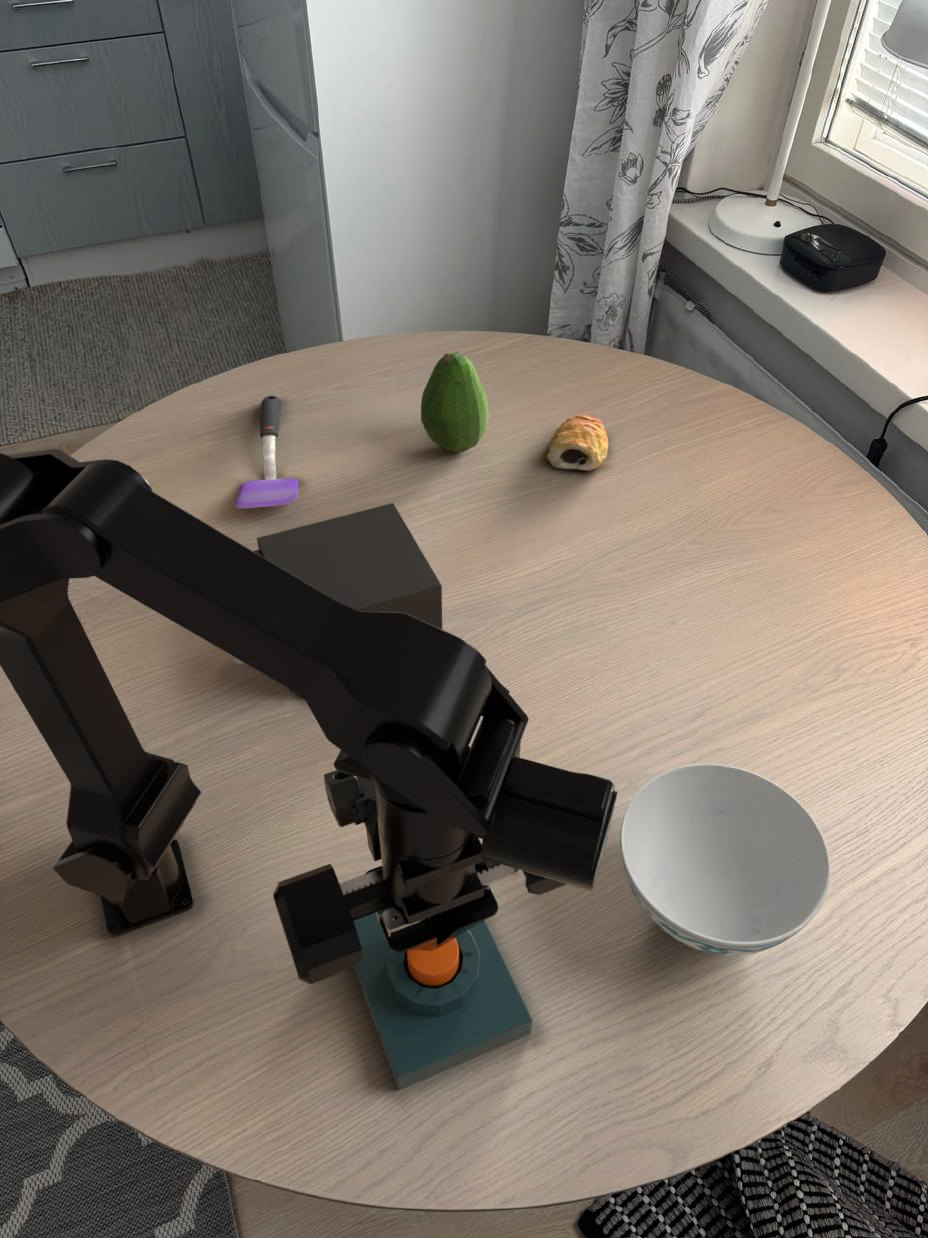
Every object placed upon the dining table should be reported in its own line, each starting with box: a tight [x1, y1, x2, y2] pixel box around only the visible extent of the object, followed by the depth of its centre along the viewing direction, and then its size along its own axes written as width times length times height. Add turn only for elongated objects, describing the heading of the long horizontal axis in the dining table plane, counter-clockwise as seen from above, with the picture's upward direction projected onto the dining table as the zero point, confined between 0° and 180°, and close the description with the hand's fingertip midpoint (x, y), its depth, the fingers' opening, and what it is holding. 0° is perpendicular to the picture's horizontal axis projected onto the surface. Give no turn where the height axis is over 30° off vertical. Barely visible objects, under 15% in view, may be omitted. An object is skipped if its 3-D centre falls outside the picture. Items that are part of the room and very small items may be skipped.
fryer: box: [256, 502, 443, 630], centre depth 94 cm, size 14×13×10 cm
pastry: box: [546, 414, 610, 472], centre depth 118 cm, size 9×7×4 cm
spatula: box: [234, 395, 299, 510], centre depth 117 cm, size 24×7×2 cm, turn 6°
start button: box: [407, 938, 459, 986], centre depth 70 cm, size 4×4×2 cm
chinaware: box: [619, 763, 832, 956], centre depth 75 cm, size 15×15×8 cm
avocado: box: [420, 351, 490, 453], centre depth 115 cm, size 8×8×12 cm
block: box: [353, 913, 533, 1091], centre depth 71 cm, size 12×10×4 cm
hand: (432, 943), depth 68 cm, fingers closed
